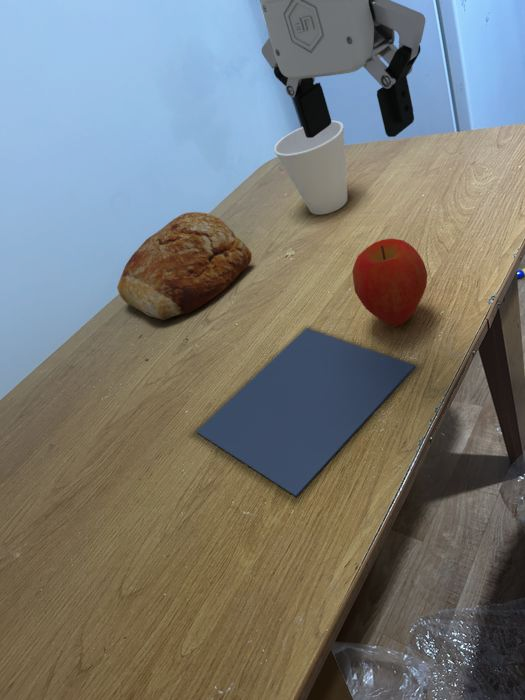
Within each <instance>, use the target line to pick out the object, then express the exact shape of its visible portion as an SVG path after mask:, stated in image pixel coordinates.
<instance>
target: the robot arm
mask: <svg viewBox="0 0 525 700" xmlns="http://www.w3.org/2000/svg"><path fill="white" fill-rule="evenodd" d="M260 4H261V8H262V13H263V17H264V22H265V26H266V30H267V33H268V39H267V40H266V42H264V44H263V46H262V47H261V53H262V56H263V57H264V59H265V60H266V62H267V63H268V65H269V66H270V67H271V69H272V70H273V74H274V76H275V78H276V79H277V80H278V81H279V82H281V83H282V84H283V86H285V91H286V94H287V96H289V97H290V98H293V100H294V103H295V106H296V110H297V113H298V115H299V119H300V122H301V125H302V126H301V127H303V129H304V132H305V135H306V137H307V138H313V137H314V136H316V135H317V134H318V133H320V132H321V131H323V130H324V129H325V128H327V127H328V126H329V125H330V124H331V120H332V118H331V114H330V111H329V108H328V104H327V101H326V96H325V93H324V89H323V86H322V85H321V82H315V81H316V78H322V77H330V76H337V75H338V76H339V75H344V74H345V75H346V74H350V73H351V74H352V73H354V72H357V71H358V70H360V69H361V68H364V69H365V70H366V71H367V73H368V74H369V75H371V77H373V79H374V80H375V81H376V82H377V83H378V84H379V85H380V86H381V87H380V88H379V89H377V90H376V96H377V97H376V98H377V103H378V107H379V110H380V115H381V119H382V123H383V127H384V132H385V136H387V137H388V138H394V137H397V136H398V135H399V134H401V132H403V131H404V130H405V129H406V128H408V127H410V125H412V124H413V123H414V121H415V115H414V107H413V102H412V98H411V97H412V96H411V93H410V88H409V87H410V86H409V82H408V77H407V76H409V75H410V74H411V73H412V72H413V65H414V64H415V62H416V60H417V58H418V57H419V55H420V53H421V43H422V39H423V35H424V30H425V26H426V17H425V15H424V14H423V13H422V12H419V11H417V10H415V9H412V8H410V7H407V6H405V5H402V4H401V3H399V2H398V3H397V2H395V1H394V0H260ZM395 32H397V34H398V39H399V40H398V47H397V46H396V45H395V40H396V37H395V36H396V33H395ZM381 58H382V59H383V60H384V62H383V61H382V59H381ZM385 62H386V63H387V65H388V66H387V65H386V64H385Z"/></svg>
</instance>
